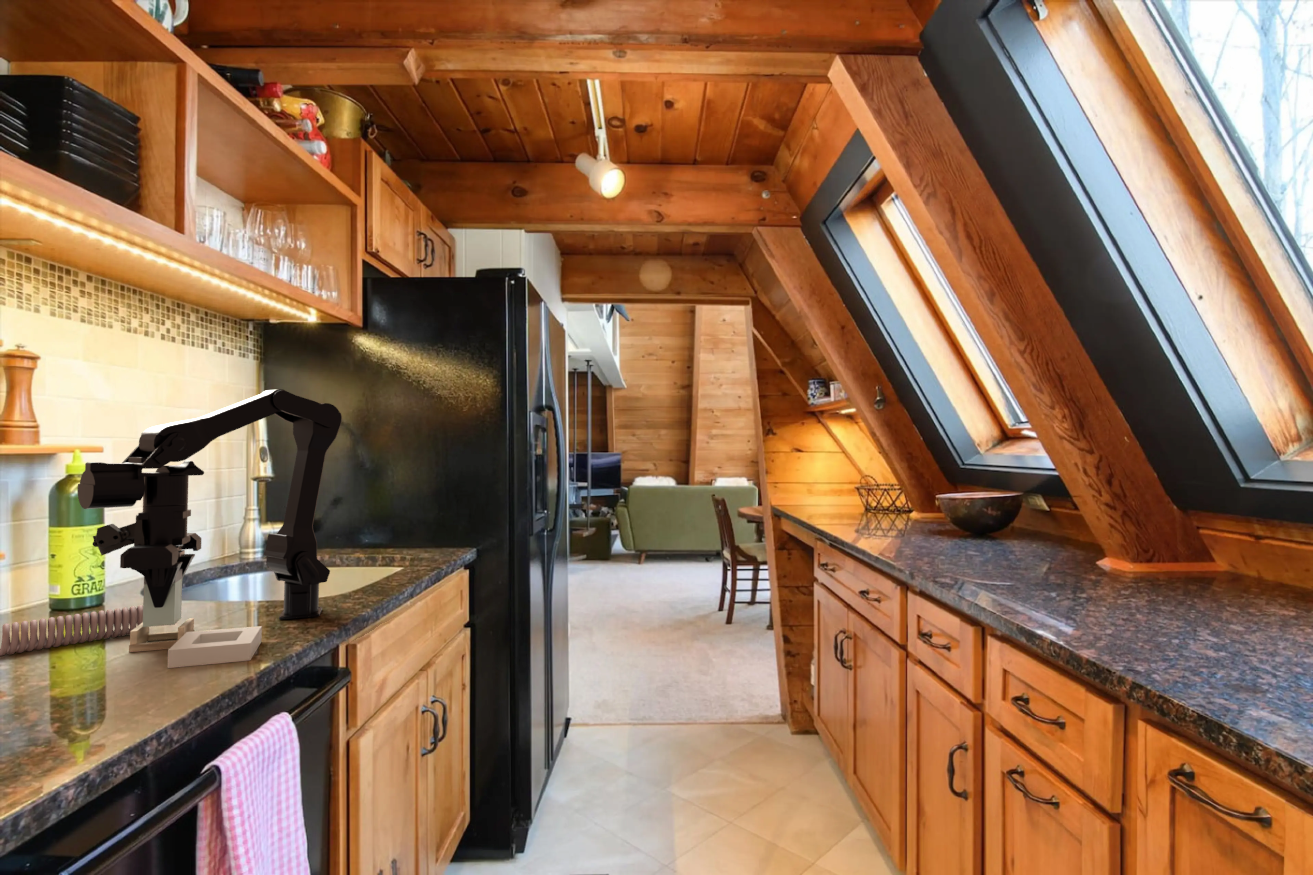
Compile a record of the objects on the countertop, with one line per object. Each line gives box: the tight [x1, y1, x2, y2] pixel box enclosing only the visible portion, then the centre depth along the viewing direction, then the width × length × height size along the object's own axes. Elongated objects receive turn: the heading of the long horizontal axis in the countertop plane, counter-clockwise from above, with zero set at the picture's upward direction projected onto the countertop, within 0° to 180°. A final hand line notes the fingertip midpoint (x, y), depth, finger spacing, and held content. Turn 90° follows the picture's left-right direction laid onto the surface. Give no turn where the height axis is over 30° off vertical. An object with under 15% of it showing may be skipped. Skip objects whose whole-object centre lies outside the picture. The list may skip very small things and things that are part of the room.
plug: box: [142, 569, 183, 628], centre depth 104 cm, size 4×4×8 cm
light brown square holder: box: [128, 617, 195, 653], centre depth 104 cm, size 7×7×3 cm
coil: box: [0, 604, 143, 657], centre depth 105 cm, size 5×5×18 cm
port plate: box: [167, 625, 263, 669], centre depth 100 cm, size 10×10×2 cm
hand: (163, 604), depth 104 cm, fingers closed on plug, 4 cm apart
